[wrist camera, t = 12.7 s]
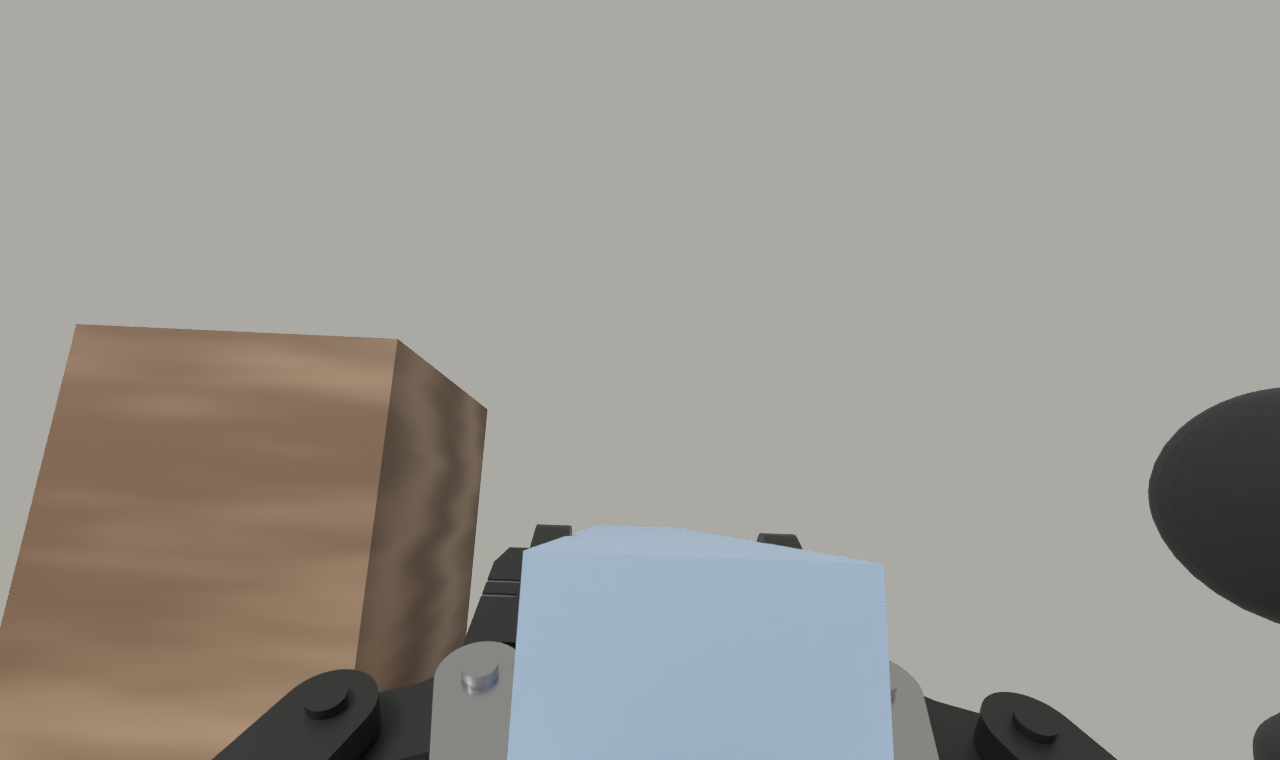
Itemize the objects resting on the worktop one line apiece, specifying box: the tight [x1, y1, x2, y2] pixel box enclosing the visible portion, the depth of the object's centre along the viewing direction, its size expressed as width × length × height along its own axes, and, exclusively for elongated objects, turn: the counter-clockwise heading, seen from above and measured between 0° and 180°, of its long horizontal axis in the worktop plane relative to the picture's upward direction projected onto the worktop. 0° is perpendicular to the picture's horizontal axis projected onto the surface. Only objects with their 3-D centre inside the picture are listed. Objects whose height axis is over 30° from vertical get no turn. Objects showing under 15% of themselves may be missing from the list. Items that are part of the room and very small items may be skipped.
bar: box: [507, 525, 894, 760], centre depth 18 cm, size 24×4×4 cm, turn 2°
